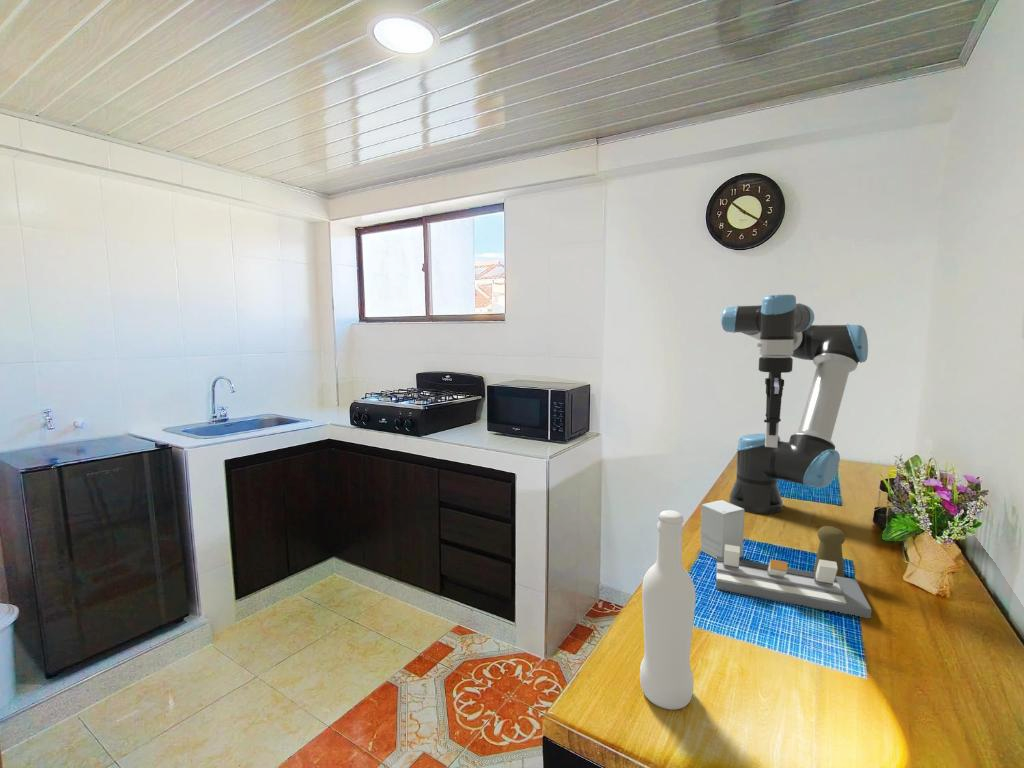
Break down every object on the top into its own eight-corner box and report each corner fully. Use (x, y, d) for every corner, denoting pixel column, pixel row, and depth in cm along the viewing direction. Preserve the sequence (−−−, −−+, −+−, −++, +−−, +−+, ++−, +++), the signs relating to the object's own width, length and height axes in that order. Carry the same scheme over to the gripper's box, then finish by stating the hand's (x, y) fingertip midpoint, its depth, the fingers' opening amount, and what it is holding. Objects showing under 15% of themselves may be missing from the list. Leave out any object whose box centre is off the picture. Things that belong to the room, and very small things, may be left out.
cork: (849, 581, 105) (853, 535, 104) (820, 578, 107) (823, 533, 105) (836, 567, 111) (840, 524, 110) (808, 565, 112) (811, 522, 111)
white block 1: (723, 561, 109) (724, 544, 105) (738, 564, 107) (740, 546, 104) (723, 567, 107) (724, 550, 104) (738, 570, 106) (740, 552, 102)
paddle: (767, 567, 105) (770, 559, 100) (783, 570, 104) (787, 562, 98) (767, 575, 104) (770, 567, 99) (783, 578, 103) (787, 570, 98)
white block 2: (814, 577, 101) (818, 559, 97) (831, 580, 100) (836, 562, 96) (814, 584, 100) (819, 565, 96) (832, 587, 99) (838, 568, 95)
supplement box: (743, 557, 117) (746, 508, 116) (721, 563, 114) (723, 513, 113) (720, 544, 124) (722, 499, 122) (699, 550, 121) (700, 503, 120)
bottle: (632, 675, 78) (635, 504, 74) (679, 671, 79) (684, 501, 75) (650, 715, 70) (654, 525, 66) (702, 710, 71) (709, 522, 67)
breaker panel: (716, 563, 114) (717, 553, 114) (854, 587, 103) (855, 577, 102) (716, 588, 103) (716, 578, 103) (870, 619, 92) (871, 607, 92)
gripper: (757, 354, 126) (753, 439, 129) (761, 357, 114) (756, 451, 117) (789, 354, 123) (784, 442, 126) (796, 358, 111) (791, 454, 114)
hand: (771, 446), depth 121 cm, fingers closed
